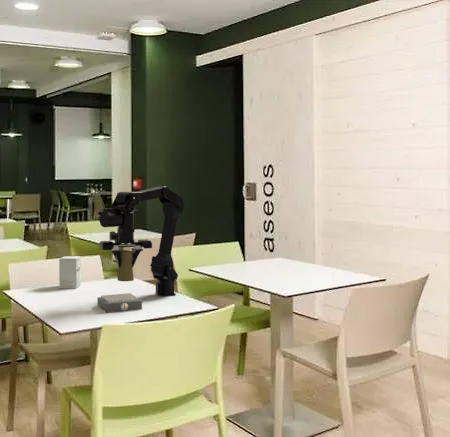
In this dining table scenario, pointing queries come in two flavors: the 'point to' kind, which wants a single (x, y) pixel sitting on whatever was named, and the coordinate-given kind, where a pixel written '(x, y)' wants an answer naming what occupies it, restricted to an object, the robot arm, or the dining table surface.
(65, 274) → the supplement box
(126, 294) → the kitchen scale
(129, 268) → the cork
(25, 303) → the dining table surface
